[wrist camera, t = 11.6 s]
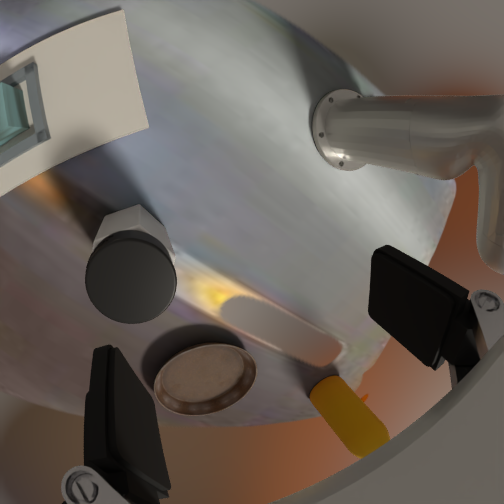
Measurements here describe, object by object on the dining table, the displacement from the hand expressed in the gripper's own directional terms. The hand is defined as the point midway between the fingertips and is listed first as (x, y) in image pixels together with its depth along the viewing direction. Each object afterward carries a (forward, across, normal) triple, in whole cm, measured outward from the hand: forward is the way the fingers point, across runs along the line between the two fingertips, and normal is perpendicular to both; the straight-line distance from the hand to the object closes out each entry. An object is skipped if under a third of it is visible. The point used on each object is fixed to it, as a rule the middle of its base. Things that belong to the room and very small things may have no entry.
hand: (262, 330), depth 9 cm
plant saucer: (+27, +5, +30) cm, 41 cm away
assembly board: (+26, +13, -16) cm, 33 cm away
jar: (+27, +7, +4) cm, 28 cm away
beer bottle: (+27, -19, +52) cm, 62 cm away
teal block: (+25, +18, -16) cm, 34 cm away
